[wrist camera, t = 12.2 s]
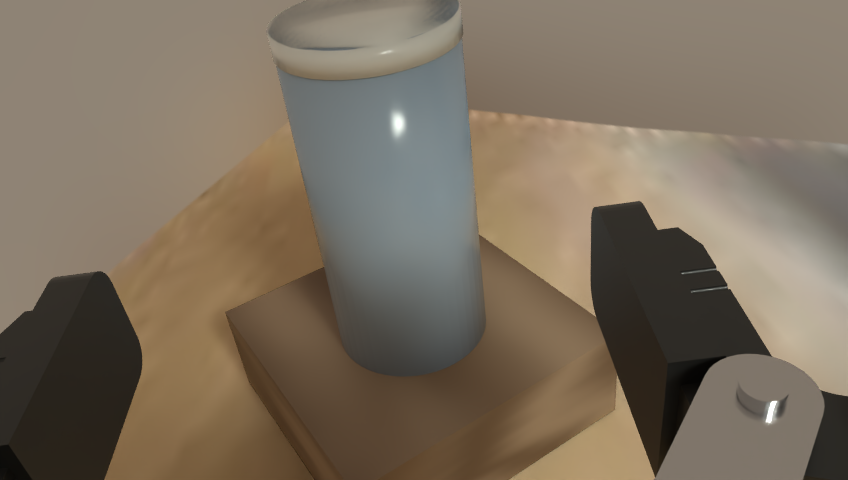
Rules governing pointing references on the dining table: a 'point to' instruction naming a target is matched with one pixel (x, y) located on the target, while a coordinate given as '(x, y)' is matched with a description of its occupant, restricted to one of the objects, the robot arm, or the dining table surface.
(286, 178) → the dining table surface
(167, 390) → the dining table surface
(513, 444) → the block
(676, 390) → the robot arm
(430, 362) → the tumbler
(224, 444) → the dining table surface
